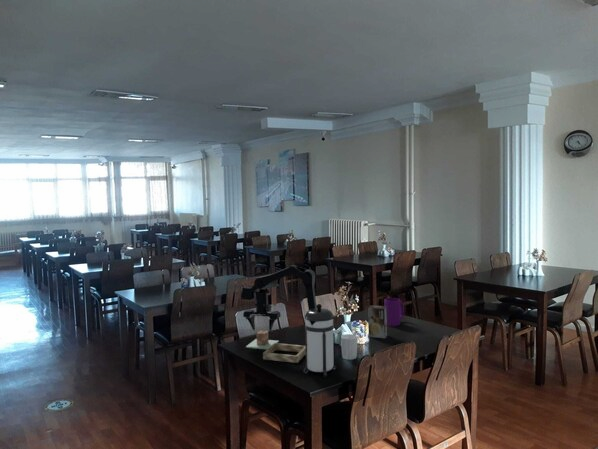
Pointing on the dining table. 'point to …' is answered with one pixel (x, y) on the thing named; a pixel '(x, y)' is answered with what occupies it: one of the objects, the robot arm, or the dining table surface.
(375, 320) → the coffee box
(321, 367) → the coffee press
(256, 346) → the sage board
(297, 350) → the pine frame
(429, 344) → the dining table surface
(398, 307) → the mug
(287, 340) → the dining table surface
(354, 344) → the white cup
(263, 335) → the terracotta block
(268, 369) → the dining table surface
